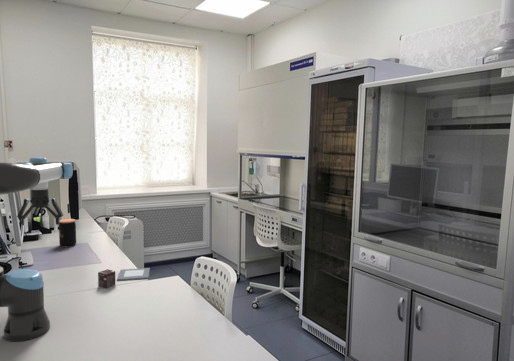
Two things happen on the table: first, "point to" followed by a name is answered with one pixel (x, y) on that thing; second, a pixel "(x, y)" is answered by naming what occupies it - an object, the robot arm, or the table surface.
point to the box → (106, 278)
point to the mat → (133, 274)
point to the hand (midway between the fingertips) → (41, 231)
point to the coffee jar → (67, 232)
